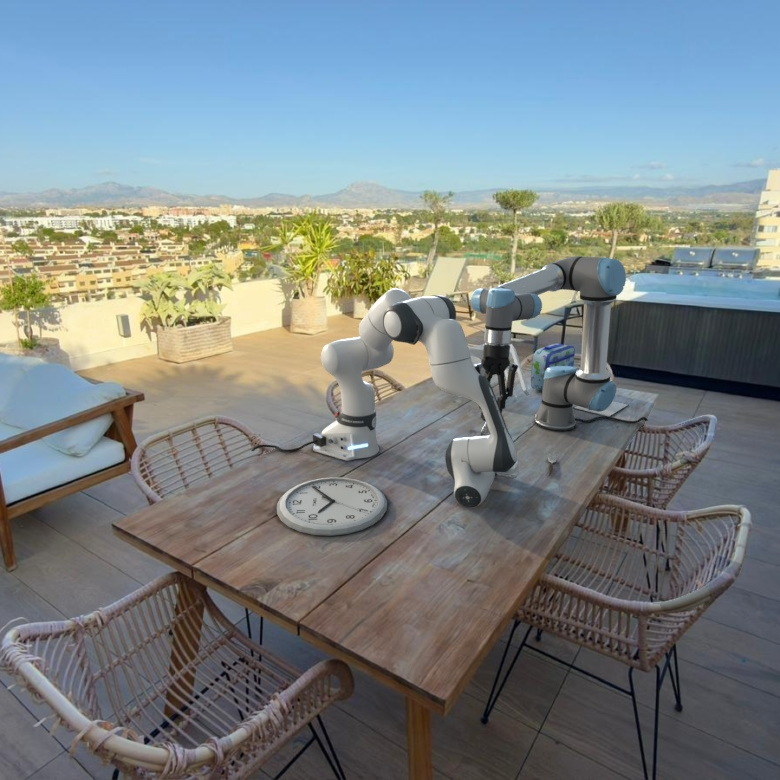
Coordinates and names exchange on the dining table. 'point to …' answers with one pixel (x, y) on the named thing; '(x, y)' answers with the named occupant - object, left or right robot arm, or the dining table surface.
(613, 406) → the invitation card
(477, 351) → the white plastic object
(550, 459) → the fork
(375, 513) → the wall clock
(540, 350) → the lunch box
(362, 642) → the dining table surface
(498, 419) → the left robot arm
